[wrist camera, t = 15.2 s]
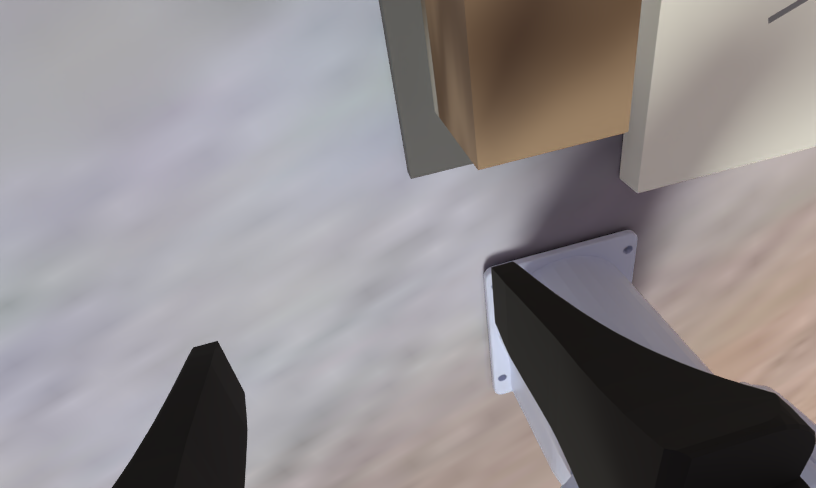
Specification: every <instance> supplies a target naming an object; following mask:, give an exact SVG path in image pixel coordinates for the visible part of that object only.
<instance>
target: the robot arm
mask: <svg viewBox="0 0 816 488" xmlns="http://www.w3.org/2000/svg"><path fill="white" fill-rule="evenodd" d="M637 240H638V237H637V235H636V234H635V233H634V232H633V231H632V230H625V231H621V232H617V233H613V234H610V235H606V236H602V237H599V238H595V239H591V240H588V241H584V242H580V243H576V244H573V245H569V246H565V247H562V248H558V249H554V250H550V251H547V252H543V253H539V254H536V255H532V256H528V257H524V258H521V259H517V260H513V261H510V262H506V263H502V264H498V265H495V266H492V267H489V268H488V269H487V270H486V271H485V273H484V287H485V299H486V311H487V323H488V335H489V346H490V358H491V370H492V382H493V388H494V390H495V393H497V394H505V393H508V392H511V391H513V392H514V394H515V397H516V399H517V401H518V403H519V405H520V407H521V409H522V411H523V413H524V415H525V417H526V419H527V421H528V423H529V425H530V427H531V429H532V431H533V433H534V435H535V437H536V439H537V441H538V443H539V445H540V447H541V449H542V451H543V453H544V455H545V457H546V459H547V461H548V464H549V466H550V468H551V470H552V471H553V473H554V475H555V476H556V478H557V479H558V481H559V482H560V483H561V484H562V486H561V488H816V424H814V423H813V422H812V421H811V420H810V419H809V418H808V417H807V416H805V415H804V414H803V413H802V412H801V411H800V410H798V409H797V408H796V407H795V406H794V405H793V404H791V403H790V402H789V401H788V400H786V399H785V398H784V397H783V396H781V395H780V394H779V393H777V392H776V391H775V390H773V389H772V388H770V387H768V386H761V385H750V384H749V383H746V382H740V383H738V382H734V381H731V380H728V379H725V378H722V377H719V376H716V375H714V374H713V373H712V372H711V371H710V370H709V369H708V367H707V366H706V365H705V364H704V363H703V362H702V361H701V360H700V359H699V358H698V356H697V355H696V354H695V353H694V352H693V351H692V350H691V349H690V348H689V346H688V345H687V344H686V343H685V342H684V341H683V340H682V339H681V338H680V337H679V335H678V334H677V333H676V332H675V331H674V330H673V329H672V328H671V327H670V326H669V324H668V323H667V322H666V321H665V320H664V319H663V318H662V317H661V316H660V314H659V313H658V312H657V311H656V310H655V309H654V308H653V307H652V306H651V305H650V303H649V302H648V301H647V300H646V299H645V298H644V297H643V296H642V295H641V294H640V292H639V291H638V290H637V289H636V288H635V287H634V286H633V285H632V278H633V270H634V263H635V255H636V248H637ZM627 246H628V247H627ZM625 247H627V248H625ZM624 248H625V249H624ZM246 451H247V416H246V404H245V393H244V391H243V389H242V387H241V385H240V383H239V381H238V379H237V377H236V375H235V373H234V371H233V369H232V368H231V366H230V364H229V362H228V360H227V358H226V356H225V354H224V352H223V350H222V348H221V346H220V345H219V343H218V341H216V342H212V343H208V344H204V345H201V346H197V347H193V349H192V350H191V352H190V354H189V356H188V358H187V360H186V362H185V364H184V366H183V368H182V370H181V372H180V374H179V376H178V378H177V380H176V382H175V384H174V385H173V387H172V389H171V391H170V393H169V395H168V397H167V399H166V401H165V402H164V404H163V406H162V408H161V410H160V412H159V413H158V415H157V417H156V419H155V421H154V422H153V424H152V426H151V428H150V429H149V431H148V433H147V434H146V436H145V438H144V439H143V441H142V443H141V444H140V446H139V447H138V449H137V451H136V452H135V454H134V456H133V457H132V459H131V460H130V462H129V463H128V465H127V466H126V468H125V469H124V471H123V472H122V474H121V475H120V477H119V478H118V480H117V481H116V483H115V484H114V485H113V487H112V488H244V487H245V469H246Z"/></svg>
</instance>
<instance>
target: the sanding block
mask: <svg viewBox="0 0 816 488" xmlns="http://www.w3.org/2000/svg"><path fill="white" fill-rule="evenodd" d="M641 4H642V0H421V6H422V14H423V22H424V30H425V38H426V46H427V54H428V62H429V69H430V77H431V85H432V93H433V101H434V109H435V112H436V114H437V115H438V116H439V118H440V119H441V120H442V122H443V123H444V125H445V126H446V127H447V129H448V130H449V131H450V133H451V134H452V135H453V137H454V138H455V139H456V141H457V142H458V143H459V145H460V146H461V148H462V149H463V150H464V152H465V153H466V154H467V156H468V157H469V158H470V160H471V161H472V162H473V164H474V165H475V166H476V168H477V169H478V170H480V169H484V168H488V167H492V166H496V165H500V164H504V163H508V162H512V161H516V160H520V159H524V158H528V157H532V156H536V155H540V154H544V153H548V152H552V151H556V150H560V149H564V148H567V147H571V146H575V145H579V144H583V143H587V142H591V141H595V140H599V139H603V138H607V137H611V136H615V135H619V134H623V133H627V132H628V131H629V121H630V112H631V102H632V92H633V82H634V73H635V63H636V53H637V43H638V34H639V24H640V14H641Z"/></svg>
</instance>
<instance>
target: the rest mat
mask: <svg viewBox="0 0 816 488" xmlns="http://www.w3.org/2000/svg"><path fill="white" fill-rule="evenodd" d="M379 4H380V10H381V16H382V22H383V28H384V34H385V40H386V46H387V52H388V58H389V64H390V70H391V75H392V81H393V87H394V93H395V99H396V105H397V111H398V117H399V123H400V129H401V135H402V141H403V146H404V152H405V158H406V164H407V170H408V174H409V176H410V178H411V179H413V178H417V177H421V176H425V175H429V174H433V173H437V172H441V171H445V170H449V169H453V168H457V167H461V166H465V165H469V164H473V162H472V161H471V160H470V158H469V157H468V156H467V154H466V153H465V152H464V150H463V149H462V148H461V146H460V145H459V143H458V142H457V141H456V139H455V138H454V137H453V135H452V134H451V133H450V131H449V130H448V129H447V127H446V126H445V125H444V123H443V122H442V120H441V119H440V118H439V116H438V115H437V114H436V112H435V109H434V101H433V93H432V85H431V77H430V69H429V62H428V54H427V46H426V38H425V30H424V22H423V14H422V6H421V0H379Z"/></svg>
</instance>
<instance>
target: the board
mask: <svg viewBox="0 0 816 488" xmlns="http://www.w3.org/2000/svg"><path fill="white" fill-rule="evenodd" d="M813 147H816V0H642V4H641V14H640V24H639V34H638V43H637V53H636V63H635V73H634V82H633V92H632V102H631V112H630V121H629V131H628V132H627V133H624V135H623V145H622V155H621V165H620V175H619V178H620V179H621V180H622V181H623V182H624V183H626V184H627V185H628V186H629V187H630V188H631V189H633V190H634V191H635V192H636V193H637V194H638V193H641V192H645V191H649V190H653V189H657V188H660V187H664V186H668V185H672V184H676V183H679V182H683V181H687V180H691V179H695V178H698V177H702V176H706V175H710V174H714V173H718V172H721V171H725V170H729V169H733V168H737V167H740V166H744V165H748V164H752V163H756V162H759V161H763V160H767V159H771V158H775V157H778V156H782V155H786V154H790V153H794V152H797V151H801V150H805V149H809V148H813Z"/></svg>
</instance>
